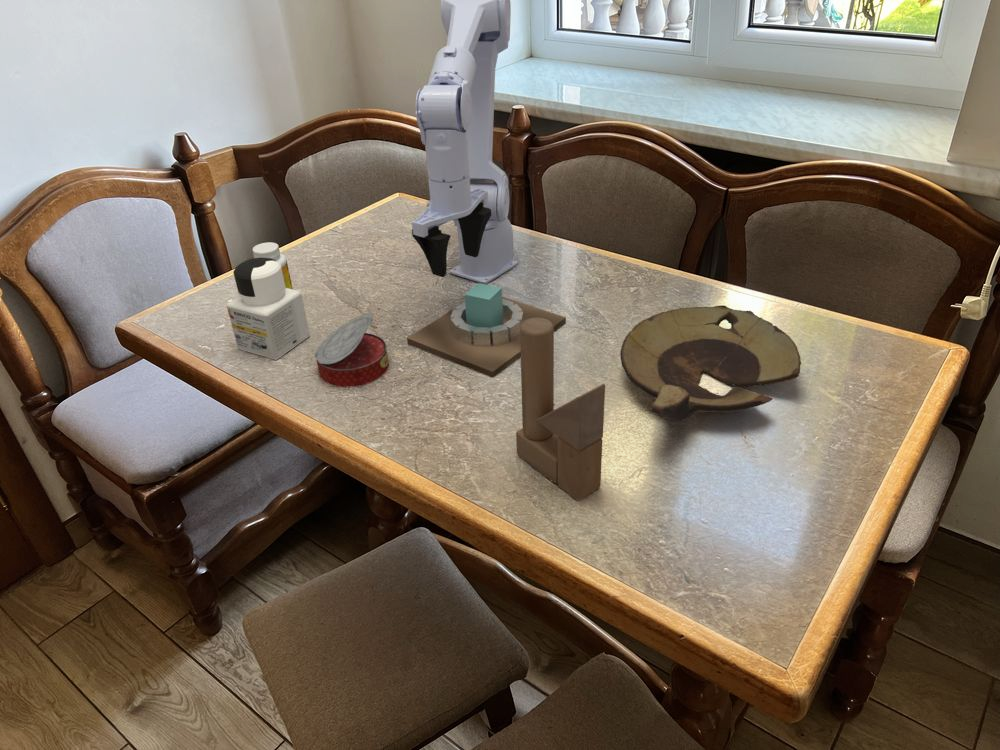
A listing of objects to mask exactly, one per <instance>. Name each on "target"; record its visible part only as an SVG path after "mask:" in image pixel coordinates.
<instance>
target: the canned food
mask: <svg viewBox="0 0 1000 750" xmlns="http://www.w3.org/2000/svg"><path fill="white" fill-rule="evenodd" d="M373 318H374V313H373V312H367V313H364V314H363V313H362V315H360V316H357V317H355V318H352V319H351V320H349V321H348V322H346V323H344V324H342V325H341V326H339V327H338V328H337V329H336V330H334V331H333V332H331V333H330V334H329V335H328V336H327V338H325V340H323V341H322V342H321V343H320V345H319V346H318V348H317V349H316V351H315V356H314V357H315V360H316V364H317V369H318V375H319V377H320V378H322V379H323V380H324V382H325V383H326V382H327V384H328V383H329V384H328V385H330V384H331V385H330V386H334V385H335V387H339V386H341V387H342V388H351V387H350V386H354V387H359V385H360V386H364V385H367V384H370V383H373V382H374V381H377V380H378V379H380V378H381V377H382V376H383V375H385V374H386V372H387V371H388V369H389V365H390V364H389V363H390V362H389V357H388V355H389V354H388V348H387V343H386V342H385V340H384V339H383V338H381V336H378V335H376V334H373V333H370V332H369V333H368V332H367V330H368V329H369V328H370V327H371V326H372V323H373V320H374V319H373ZM379 377H380V378H379ZM322 379H321V380H322ZM323 380H322V381H323ZM347 386H348V387H347Z"/></svg>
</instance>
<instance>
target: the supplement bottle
mask: <svg viewBox="0 0 1000 750" xmlns="http://www.w3.org/2000/svg"><path fill="white" fill-rule="evenodd" d="M252 253H253V258H271V259H274V260H276V261H278V262H279V263H280V264H281V269H282V273H283V278H284V283H285V287H286V288H289V289H293V284H292V279H291V274H290V269H289V265H288V261H287V257H286V256H285V255H284V254H282V253H281V250H280V247H279V244H277V243H276V242H270V241H269V242H262V243H259V244H256V245H255V246H253V247H252ZM293 290H294V289H293Z"/></svg>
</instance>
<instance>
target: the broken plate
mask: <svg viewBox="0 0 1000 750" xmlns="http://www.w3.org/2000/svg"><path fill="white" fill-rule="evenodd" d="M723 321H727V322H728V324H730V325H731V326H730V328H726V327H722V326H720V324H721V323H722V322H723ZM798 349H799V348H798V346H797V344H796V343H795V341H793V339H792V338H791V336H790V335H788V334H787V333H786V332H785V331H783V330H782V329H781V328H779V327H778V326H777V325H773V323H772V322H770V321H768V320H765V319H764V318H763V317H759V316H758V315H756V314H755V313H754V312H753V311H752V310H741V309H733V308H730V307H728V306H726V305H722V304H721V305H715V306H693V307H682V308H681V307H679V308H675V309H670V310H667V311H662V312H660V313H659V312H658V313H656V314H654V315H651V316H650V317H647V318H645V319H643V320H640V321H639V322H638V323H637V324H635V326H633V328H632V330H630V331H629V332H628V333H627V335H626V336H625V337H624V340H623V342H622V344H621V348H620V363H621V366H622V368H623V370H624V372H625V374H626V376H627V377H628V379H629V380H630V381H631V382H632V384H634V385H635V386H636V387H637V388H638V389H640V390H642V392H645V393H646V394H648V395H649V396H650V397H652V398H653V399H655V400H654V402H652V405H651V411H650V412H651V413H652V414H655V415H658V416H660V417H664V418H667V419H668V420H671V421H673V422H682V421H684V420H686V419H687V418H689V416H691V415H692V414H695V413H704V412H705V413H706V412H707V413H708V412H711V413H715V412H716V413H729V412H738V411H742V410H747V409H752V408H756V407H758V406H759V407H760V406H762V405H764V404H767V403H769V402H770V403H771V401H772V400H773V397H771V396H769V395H765V394H763V393H757V392H755V391H750V390H748V389H746V388H750V387H751V388H752V387H756V386H759V387H760V386H766V385H770V384H775V383H782V382H785V381H790V380H794V379H796V378H798V377H799V376H800V373H801V365H802V361H801V355H800V353H799V350H798ZM703 373H707V374H708V375H710V376H711V377H713V378H715V379H716V380H718V381H720V382H722V383H724V384H726V385H729V386H733V387H732V388H731V389H729V391H728V392H727V393H725V394H724V395H719V393H718V392H716V393H714V392H711V391H710V390H709V389H707V388H704V387H702V386H701V385H699V383H700V380H701V377H702V374H703ZM742 387H744V388H745V389H744V388H742Z"/></svg>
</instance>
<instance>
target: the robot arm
mask: <svg viewBox="0 0 1000 750" xmlns="http://www.w3.org/2000/svg"><path fill="white" fill-rule="evenodd" d="M511 4H512V3H511V0H440V16H441V17H440V19H441V23H442V26H443V28H444V30H445V33H446V36H447V40H446V46H443V47H441V49H439V50H438V52H436V55H435V58H434V62H433V64H432V67H431V72H430V73H429V74H430V75H429V79H428V82H427V84H425V85H424V86H423V88H418V90H417V93H416V96H415V97H416V98H415V116H416V117H415V118H416V122H417V123H416V124H417V127H418V128H419V132H420V141H421V142H422V145H424V146H425V147H424V148H425V158H426V167H427V179H428V190H429V199H430V200H428V201H426V207H427V208H426V209H425V210H424V211H423V212H422V213H421V214H420V215H419V216H418V217H417V218H416V219H414V220H412V221H411V225H412V229H411V234H412V235H411V236H412V238H414V240H415V241H416V243H417V244H418V245H419V247H420V248H421V250H422V252H423V253H424V256H425V258H426V261H427V263H428V264H429V265H428V266H429V268H430V271H431V274H432V275H434V276H437V277H441V278H444V277H446V276H447V271H448V269H447V267H448V266H447V255H448V248H449V247H448V246H449V243H450V239H451V234H448V233H444V232H442V229H440V227H441V226H443V225H445V224H447V223H448V222H451V221H453V226H454V227H457V239H458V240H457V241H458V253H459V256H458V257H459V264H458V265H457V266H455V267H453V268H452V269H449V274H452V275H455V276H458V277H460V278H465V279H467V280H471V281H473V282H476V283H481V284H486V285H487V284H489V282H492V281H493V280H494V279H496V278H498V277H499V276H501V275H502V274H504V273H506V272H507V271H509V270H510V269H513V268H514V267H516V266H517V265H519V264H518V263H519V262H518V261H517V260H515V258H514V257H515V256H514V254H515V253H514V232H513V231H514V230H513V226H512V223H511V222H510V220H509V217H508V216H509V211H510V189H509V178H508V175H507V173H506V172H505V171H504V170H502V169H501V168H500V166H498V165H497V164H495V163H494V162H493V150H494V149H493V144H494V143H493V141H494V115H495V113H494V112H495V90H496V89H495V85H496V83H495V80H496V68H497V67H496V66H497V63H498V57H499V54H501V53H502V52H503V51H505V50H507V49H508V48H509V42H510V37H511V16H512V15H511V14H512V13H511V11H512V10H511V9H512V8H511ZM471 181H478V182H471ZM479 181H482V182H479ZM484 181H485V182H484ZM490 182H491V183H490ZM493 182H494V183H493Z"/></svg>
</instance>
